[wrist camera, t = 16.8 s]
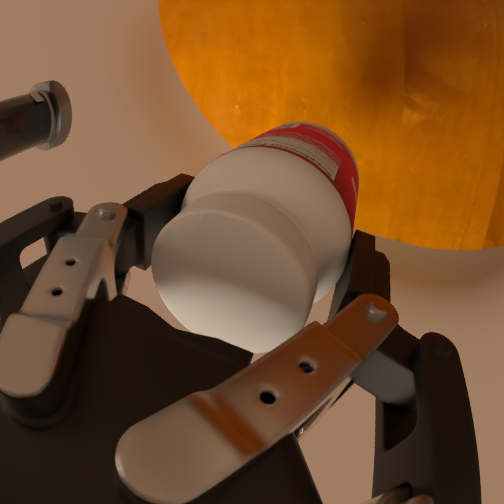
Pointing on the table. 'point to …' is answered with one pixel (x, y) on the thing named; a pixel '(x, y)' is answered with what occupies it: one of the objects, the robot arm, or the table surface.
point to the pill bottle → (260, 237)
